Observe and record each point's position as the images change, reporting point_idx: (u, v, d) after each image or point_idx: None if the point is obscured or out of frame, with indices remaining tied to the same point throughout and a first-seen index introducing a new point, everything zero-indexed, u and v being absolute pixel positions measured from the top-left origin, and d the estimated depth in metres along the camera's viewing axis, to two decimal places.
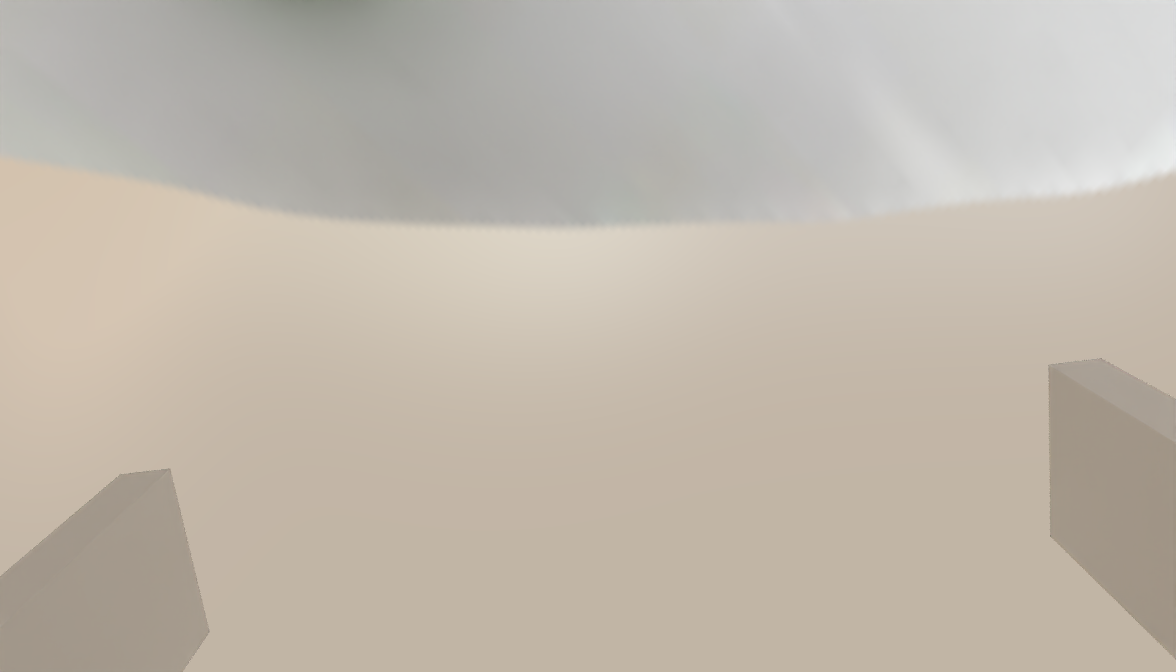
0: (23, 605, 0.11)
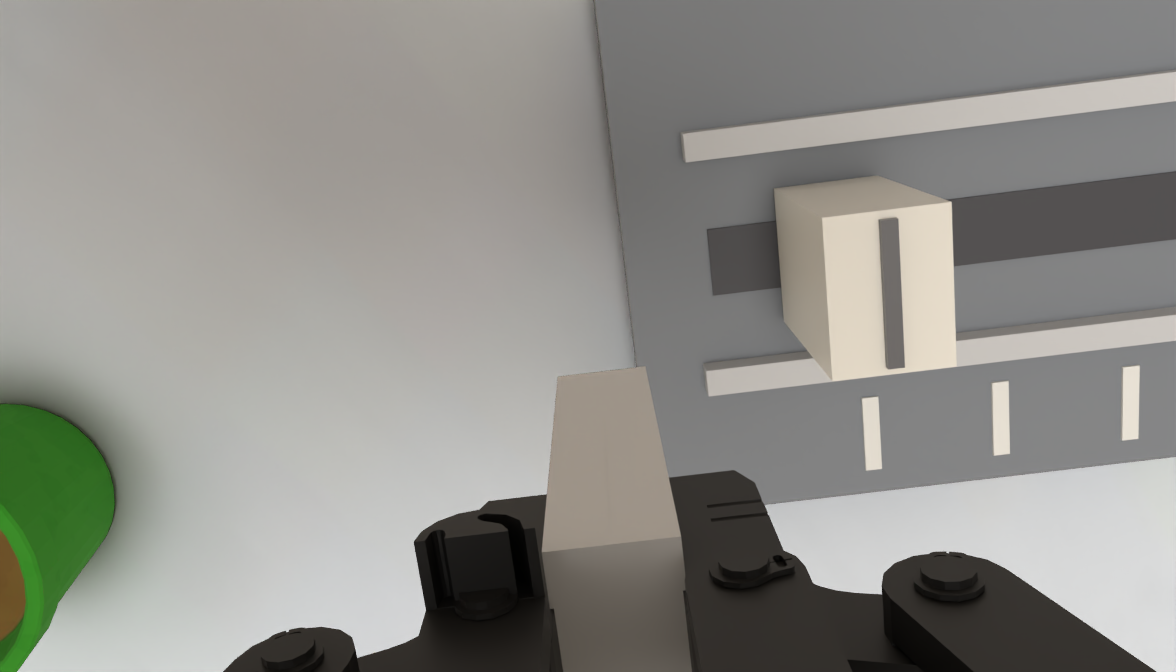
0: (602, 458, 0.13)
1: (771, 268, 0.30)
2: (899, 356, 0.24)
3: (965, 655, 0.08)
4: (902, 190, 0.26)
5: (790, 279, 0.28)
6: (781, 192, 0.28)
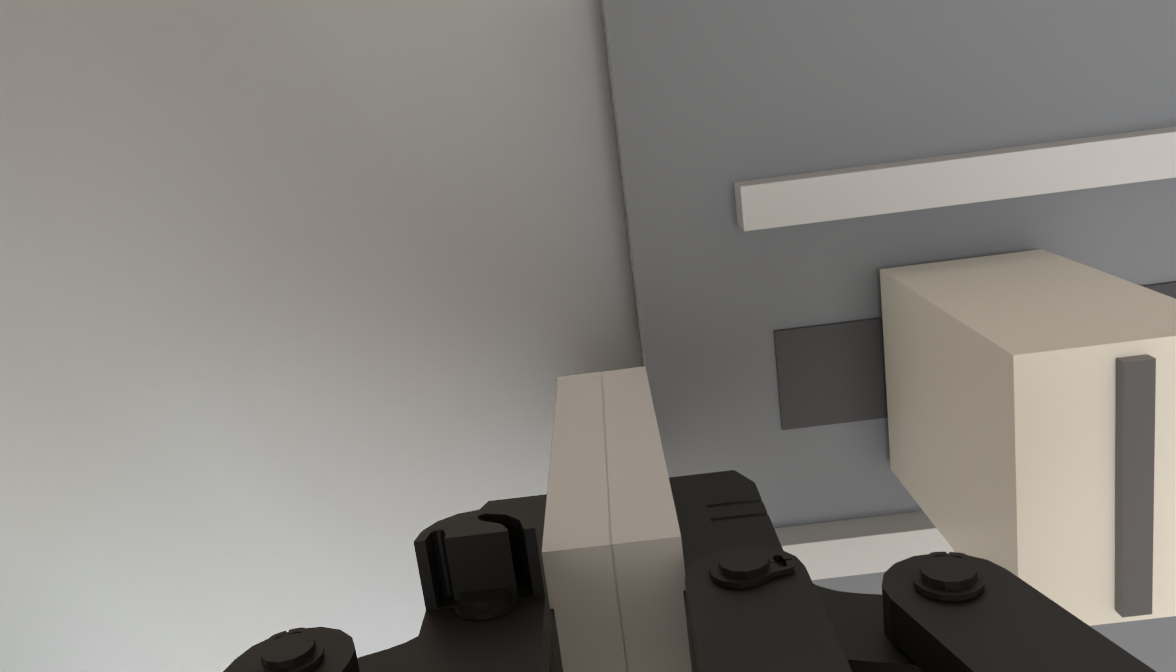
0: (602, 458, 0.13)
1: (872, 388, 0.19)
2: (1142, 594, 0.14)
3: (965, 655, 0.08)
4: (1118, 288, 0.15)
5: (912, 417, 0.18)
6: (897, 280, 0.18)
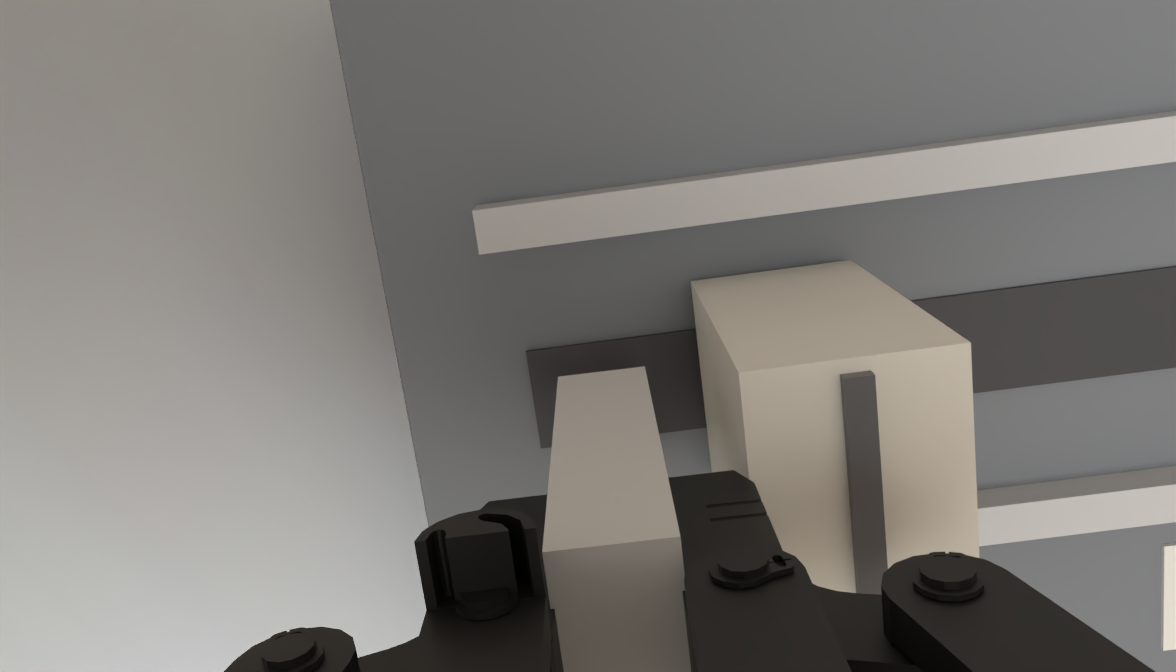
0: (603, 458, 0.13)
1: None
2: None
3: (965, 655, 0.08)
4: (886, 301, 0.15)
5: (713, 429, 0.18)
6: (697, 292, 0.18)
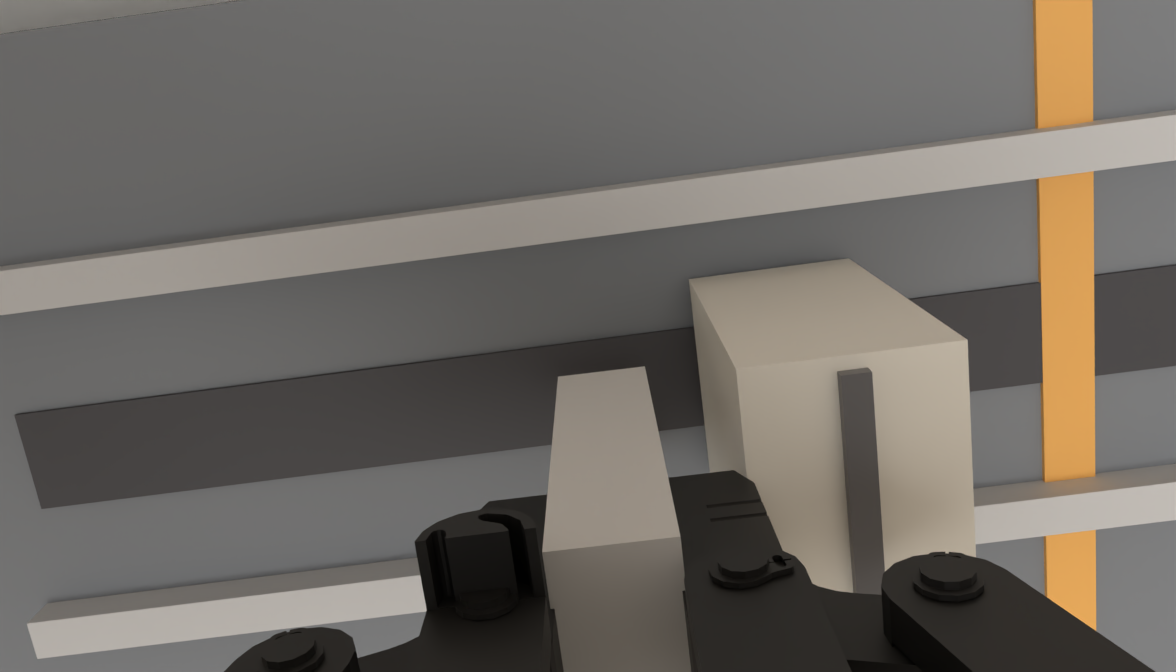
0: (602, 458, 0.13)
1: (121, 469, 0.20)
2: None
3: (964, 655, 0.08)
4: (883, 299, 0.16)
5: (711, 426, 0.18)
6: (695, 290, 0.18)
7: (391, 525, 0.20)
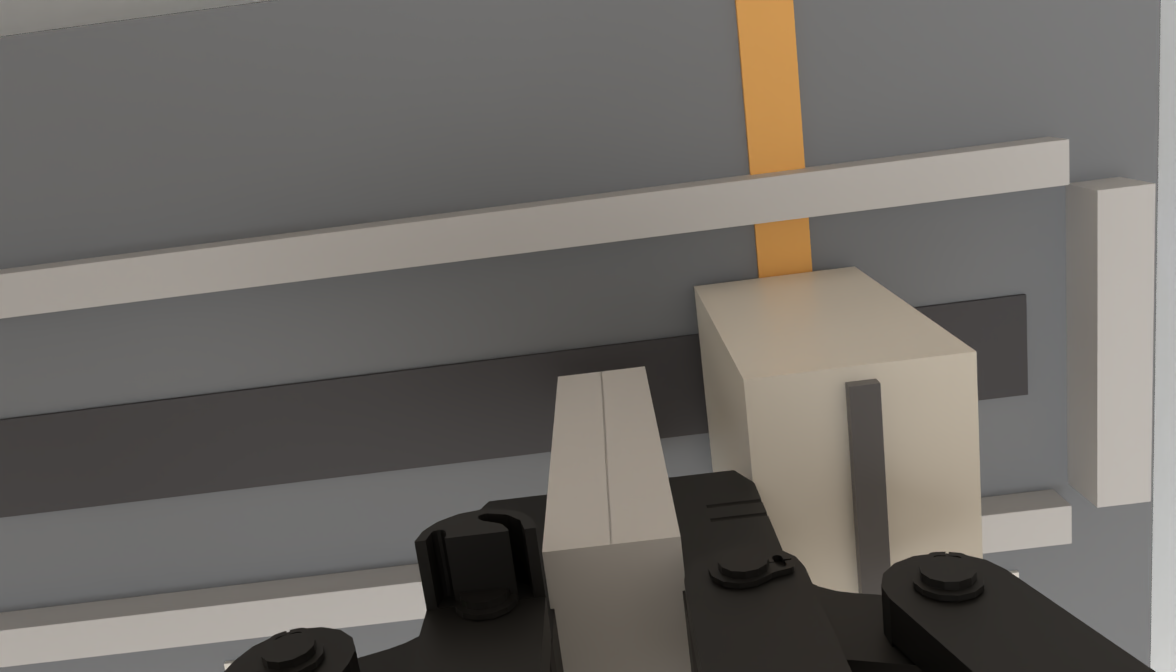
0: (603, 458, 0.13)
1: None
2: None
3: (964, 656, 0.08)
4: (890, 309, 0.15)
5: (716, 434, 0.18)
6: (701, 298, 0.18)
7: (132, 562, 0.20)
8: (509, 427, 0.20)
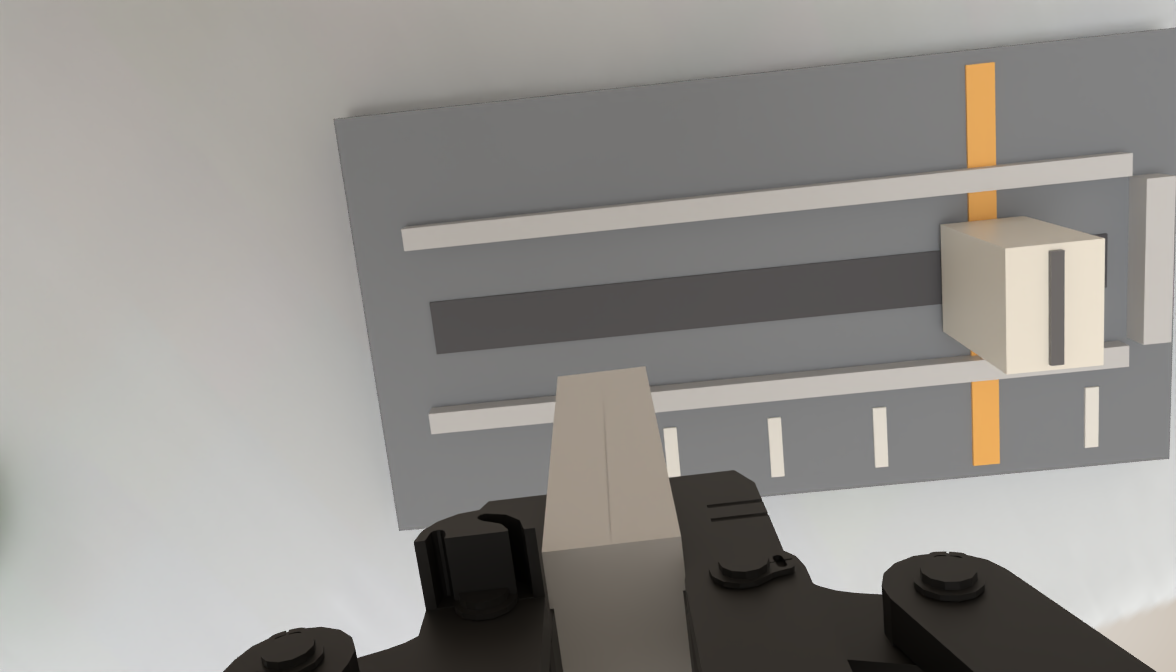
0: (602, 458, 0.13)
1: (481, 333, 0.38)
2: (1060, 356, 0.31)
3: (965, 655, 0.08)
4: (1056, 228, 0.33)
5: (956, 297, 0.35)
6: (950, 228, 0.35)
7: None
8: (830, 300, 0.37)
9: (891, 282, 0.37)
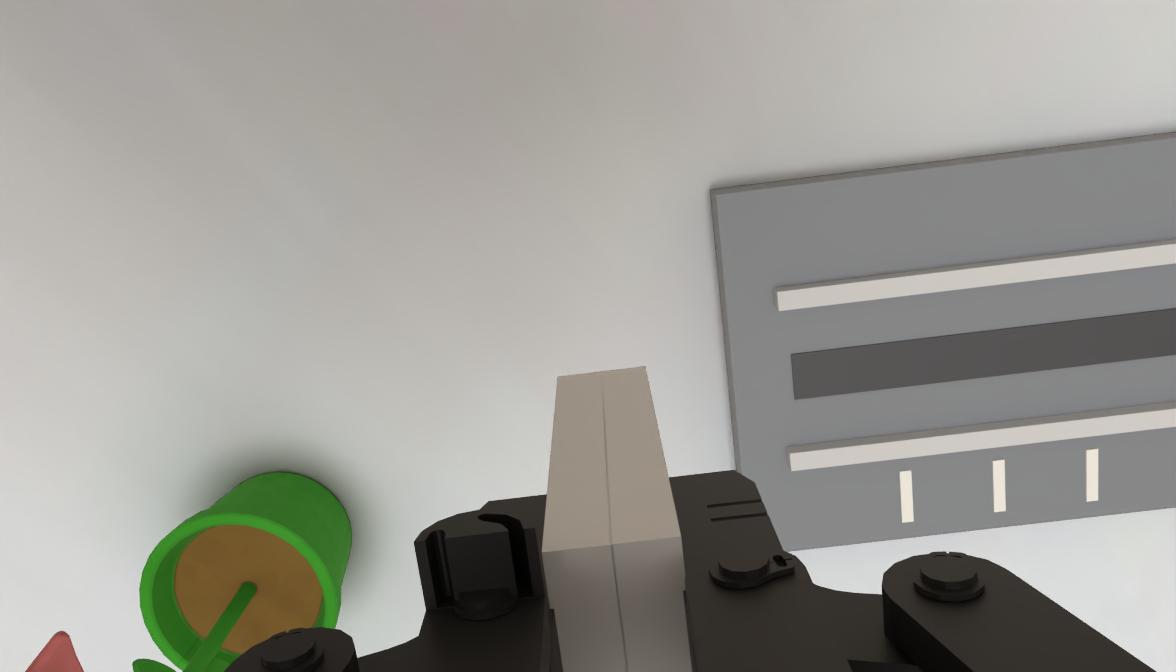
0: (602, 458, 0.13)
1: (836, 380, 0.42)
2: None
3: (965, 655, 0.08)
4: None
5: None
6: None
7: (957, 410, 0.43)
8: (1148, 344, 0.42)
9: None
